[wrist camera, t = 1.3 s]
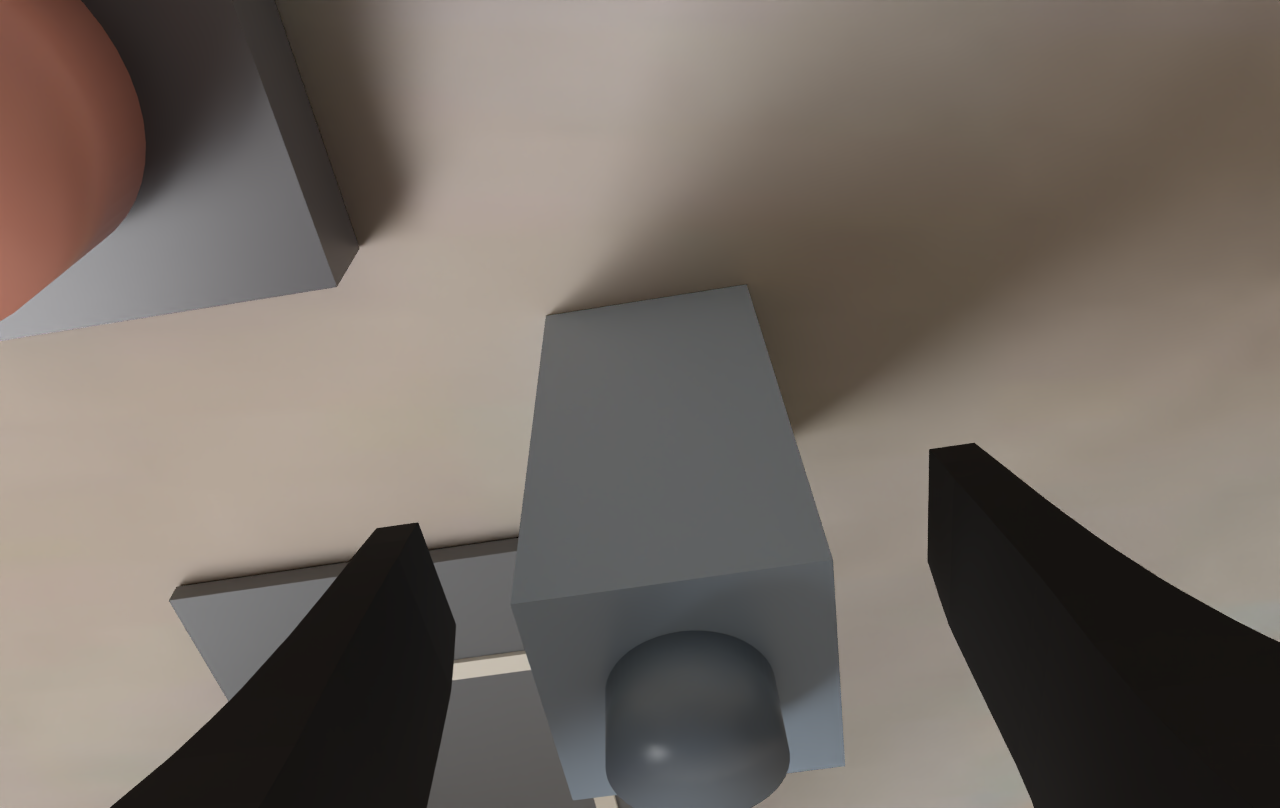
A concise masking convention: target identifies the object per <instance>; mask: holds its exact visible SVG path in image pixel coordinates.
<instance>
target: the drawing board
mask: <svg viewBox="0 0 1280 808" xmlns="http://www.w3.org/2000/svg"><path fill="white" fill-rule="evenodd" d="M517 546H518V538H513V539H506V540H499V541H493V542H486V543H479V544H472V545H465V546H458V547H451V548H444V549H437V550H430V551H429V553H430V556H431V558H432V561H433V564H434V566H435V569H436V572H437V574H438V577H439V580H440V582H441V585H442V588H443V591H444V593H445V596H446V599H447V601H448V604H449V607H450V609H451V612H452V615H453V617H454V620H455V623H456V636H455V652H454V666H453V677H452V688H451V694H450V700H449V705H448V710H447V715H446V720H445V724H444V729H443V734H442V739H441V744H440V748H439V753H438V758H437V762H436V767H435V772H434V776H433V781H432V786H431V790H430V795H429V800H428V805H427V808H633V807H632V806H630V805H629V804H627V803H626V802H625V801H623V800H622V799H621V798H620V797H619V796H618V795H612V796H604V797H596V798H588V799H581V800H573V799H572V796H571V793H570V790H569V787H568V783H567V780H566V777H565V774H564V771H563V768H562V765H561V762H560V758H559V755H558V752H557V749H556V746H555V743H554V740H553V737H552V733H551V730H550V727H549V724H548V721H547V718H546V715H545V712H544V708H543V705H542V702H541V699H540V696H539V693H538V690H537V687H536V683H535V680H534V677H533V674H532V671H531V668H530V665H529V662H528V658H527V655H526V652H525V649H524V646H523V643H522V640H521V636H520V633H519V630H518V627H517V624H516V621H515V618H514V615H513V611H512V608H511V605H510V603H511V595H512V587H513V579H514V570H515V562H516V554H517ZM348 563H349V562H346V563H339V564H332V565H325V566H318V567H311V568H304V569H297V570H290V571H283V572H276V573H269V574H262V575H255V576H248V577H241V578H235V579H228V580H221V581H214V582H207V583H200V584H193V585H186V586H179V587H176V589H175V591H174V592H173V594H172V596H171V598H170V599H169V602H170V603H171V605H172V607H173V608H174V610H175V612H176V614H177V615H178V617H179V619H180V620H181V622H182V624H183V625H184V627H185V629H186V630H187V632H188V634H189V635H190V637H191V639H192V641H193V642H194V644H195V646H196V647H197V649H198V651H199V652H200V654H201V656H202V657H203V659H204V661H205V662H206V664H207V666H208V668H209V669H210V671H211V673H212V674H213V676H214V678H215V679H216V681H217V683H218V684H219V686H220V688H221V689H222V691H223V693H224V695H225V696H226V698H227V700H228V701H230V700H231V699H232V698H233V697H234V695H235V694H236V693H237V692H238V691H239V690H240V689H241V688H242V687H243V686H244V685H245V684H246V683H247V682H248V680H249V679H250V678H251V677H252V676H253V675H254V674H255V673H256V672H257V671H258V669H259V668H260V667H261V666H262V665H263V664H264V663H265V662H266V661H267V659H268V658H269V657H270V656H271V655H272V654H273V653H274V652H275V651H276V649H277V648H278V647H279V646H280V645H281V644H282V643H283V642H284V641H285V640H286V638H287V637H288V636H289V635H290V634H291V633H292V632H293V630H294V629H295V628H296V627H297V626H298V624H299V623H300V622H301V621H302V619H303V618H304V617H305V616H306V615H307V613H308V612H309V611H310V610H311V609H312V607H313V606H314V605H315V604H316V603H317V601H318V600H319V599H320V598H321V596H322V595H323V594H324V593H325V592H326V590H327V589H328V588H329V587H330V585H331V584H332V583H333V582H334V580H335V579H336V578H337V577H338V575H339V574H340V573H341V572H342V570H343V569H344V568H345V567H346V565H347V564H348Z"/></svg>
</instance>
